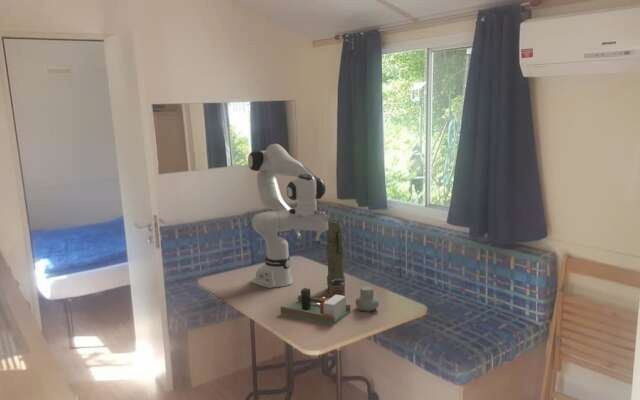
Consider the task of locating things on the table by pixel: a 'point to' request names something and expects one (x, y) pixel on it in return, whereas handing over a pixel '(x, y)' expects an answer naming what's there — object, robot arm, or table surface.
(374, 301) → the air freshener
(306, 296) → the rod
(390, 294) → the table surface
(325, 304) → the pitch
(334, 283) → the lighter
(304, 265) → the table surface
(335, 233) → the thermos
